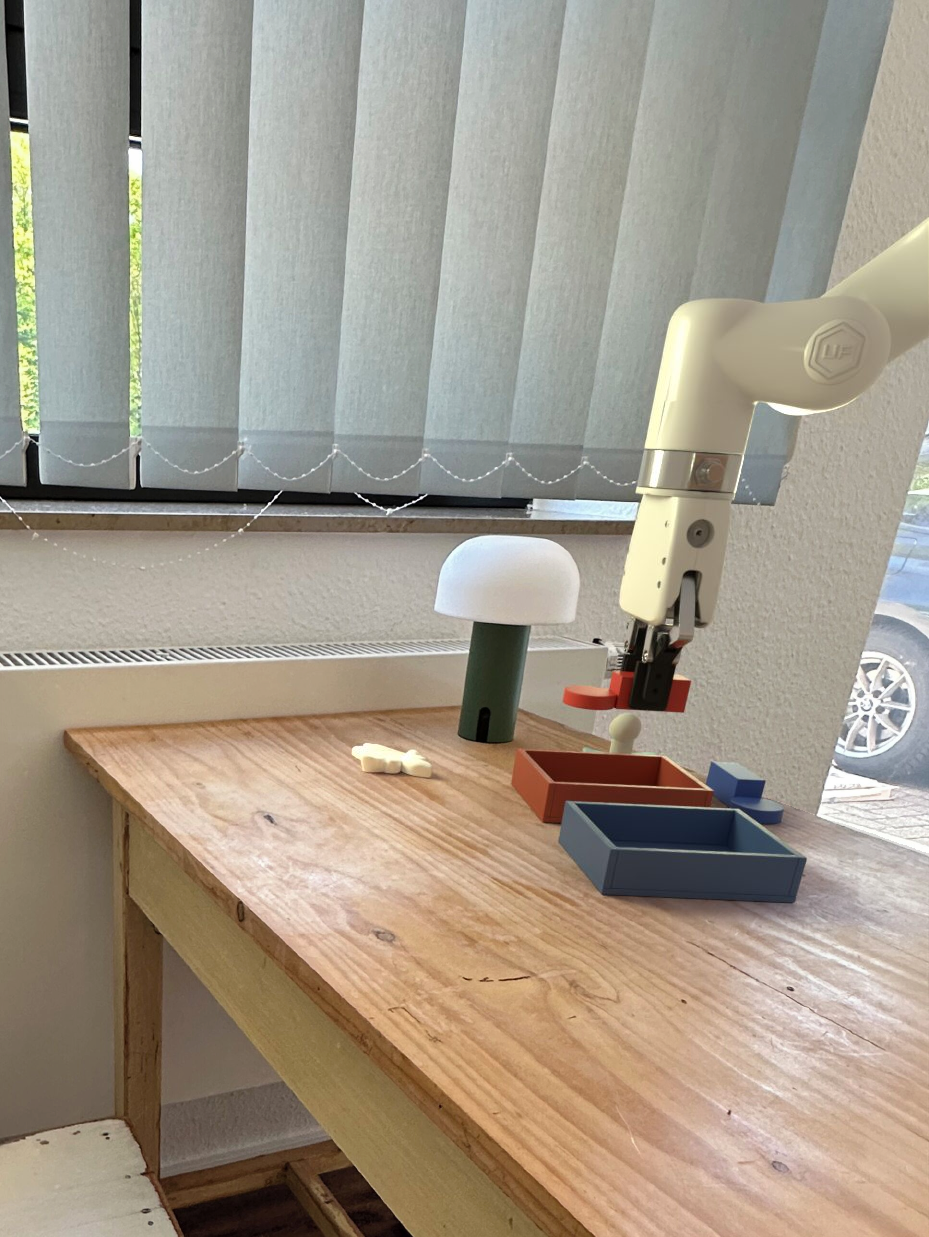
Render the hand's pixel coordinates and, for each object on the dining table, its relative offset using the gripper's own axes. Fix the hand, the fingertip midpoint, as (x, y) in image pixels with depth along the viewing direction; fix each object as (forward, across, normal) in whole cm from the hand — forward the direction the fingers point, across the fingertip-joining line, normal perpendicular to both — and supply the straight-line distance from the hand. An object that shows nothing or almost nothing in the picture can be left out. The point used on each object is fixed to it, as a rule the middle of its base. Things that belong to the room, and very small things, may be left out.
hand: (640, 703), depth 93 cm
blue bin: (+9, -16, +1) cm, 19 cm away
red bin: (+9, 0, +1) cm, 10 cm away
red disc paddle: (0, 0, +2) cm, 2 cm away
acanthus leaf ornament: (+10, +10, +19) cm, 24 cm away
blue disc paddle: (+9, +2, -12) cm, 15 cm away
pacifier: (+10, +12, -4) cm, 16 cm away
